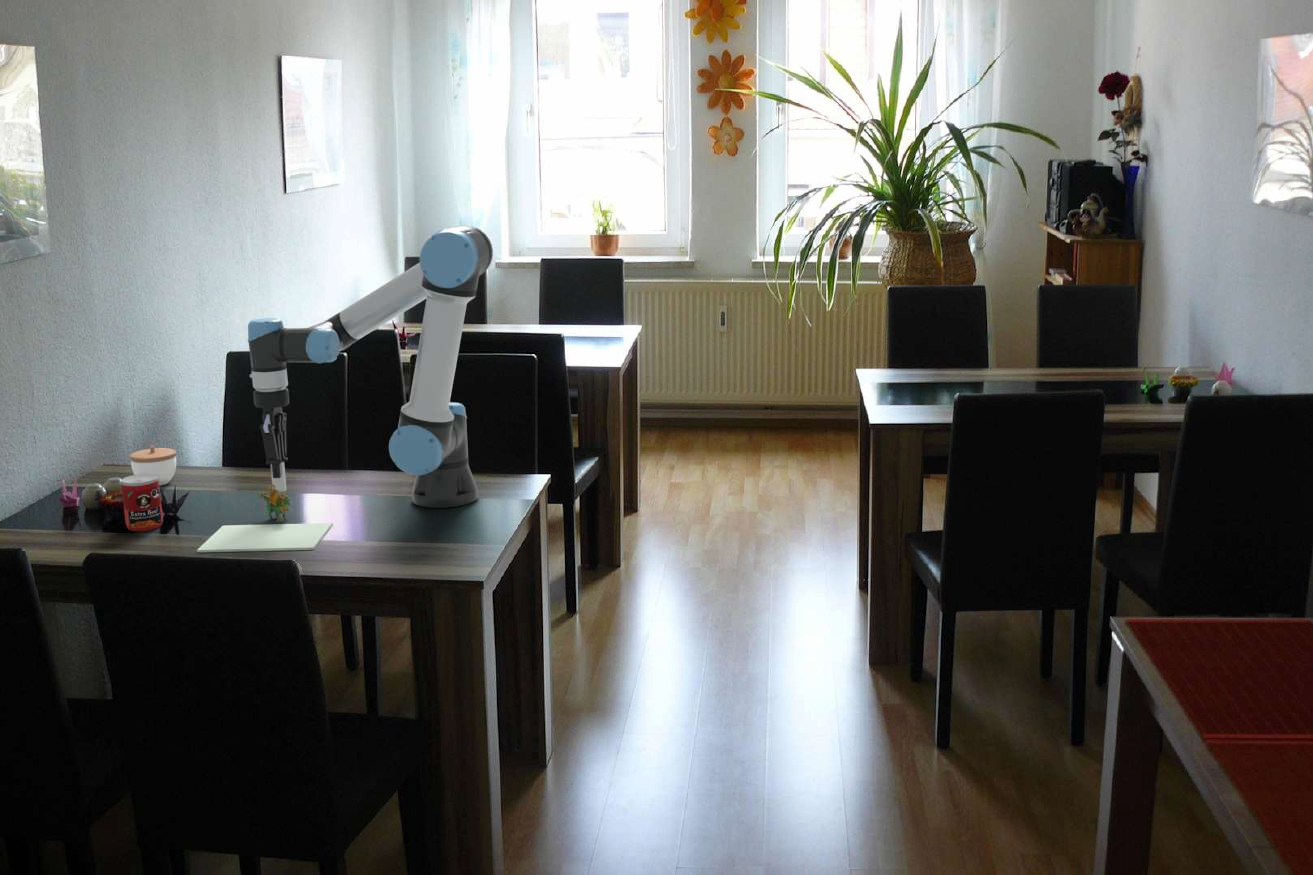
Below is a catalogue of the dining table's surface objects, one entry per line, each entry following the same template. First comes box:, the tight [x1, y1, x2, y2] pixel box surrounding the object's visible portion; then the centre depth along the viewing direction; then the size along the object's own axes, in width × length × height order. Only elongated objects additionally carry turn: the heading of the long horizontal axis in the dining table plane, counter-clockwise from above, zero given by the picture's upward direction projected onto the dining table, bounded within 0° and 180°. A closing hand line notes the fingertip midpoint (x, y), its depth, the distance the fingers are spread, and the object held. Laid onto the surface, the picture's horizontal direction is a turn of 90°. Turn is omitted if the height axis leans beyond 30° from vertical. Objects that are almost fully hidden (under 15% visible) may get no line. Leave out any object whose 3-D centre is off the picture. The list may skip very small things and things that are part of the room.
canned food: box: [120, 474, 164, 532], centre depth 282 cm, size 8×8×11 cm
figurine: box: [258, 483, 292, 524], centre depth 286 cm, size 3×12×8 cm, turn 50°
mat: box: [196, 522, 334, 553], centre depth 273 cm, size 24×17×1 cm
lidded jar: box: [129, 445, 177, 487], centre depth 318 cm, size 11×11×9 cm
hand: (279, 490), depth 291 cm, fingers closed
